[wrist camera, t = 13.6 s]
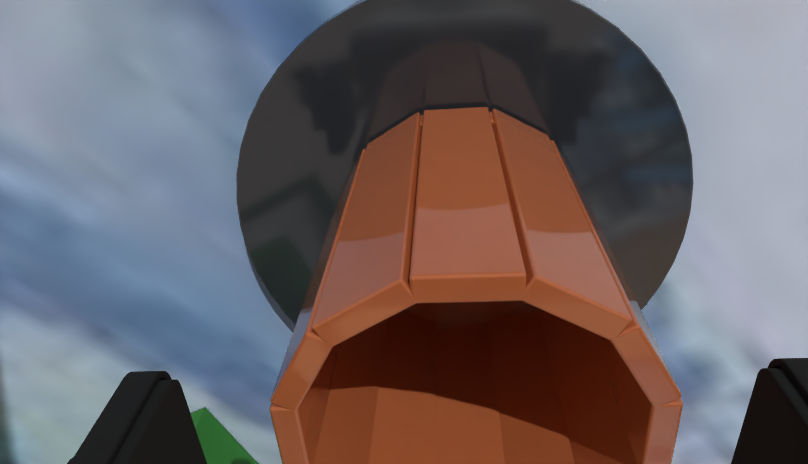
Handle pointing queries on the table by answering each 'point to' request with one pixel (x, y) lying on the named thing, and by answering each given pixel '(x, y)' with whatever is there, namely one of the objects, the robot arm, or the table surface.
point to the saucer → (464, 88)
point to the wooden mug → (470, 314)
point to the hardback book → (218, 441)
